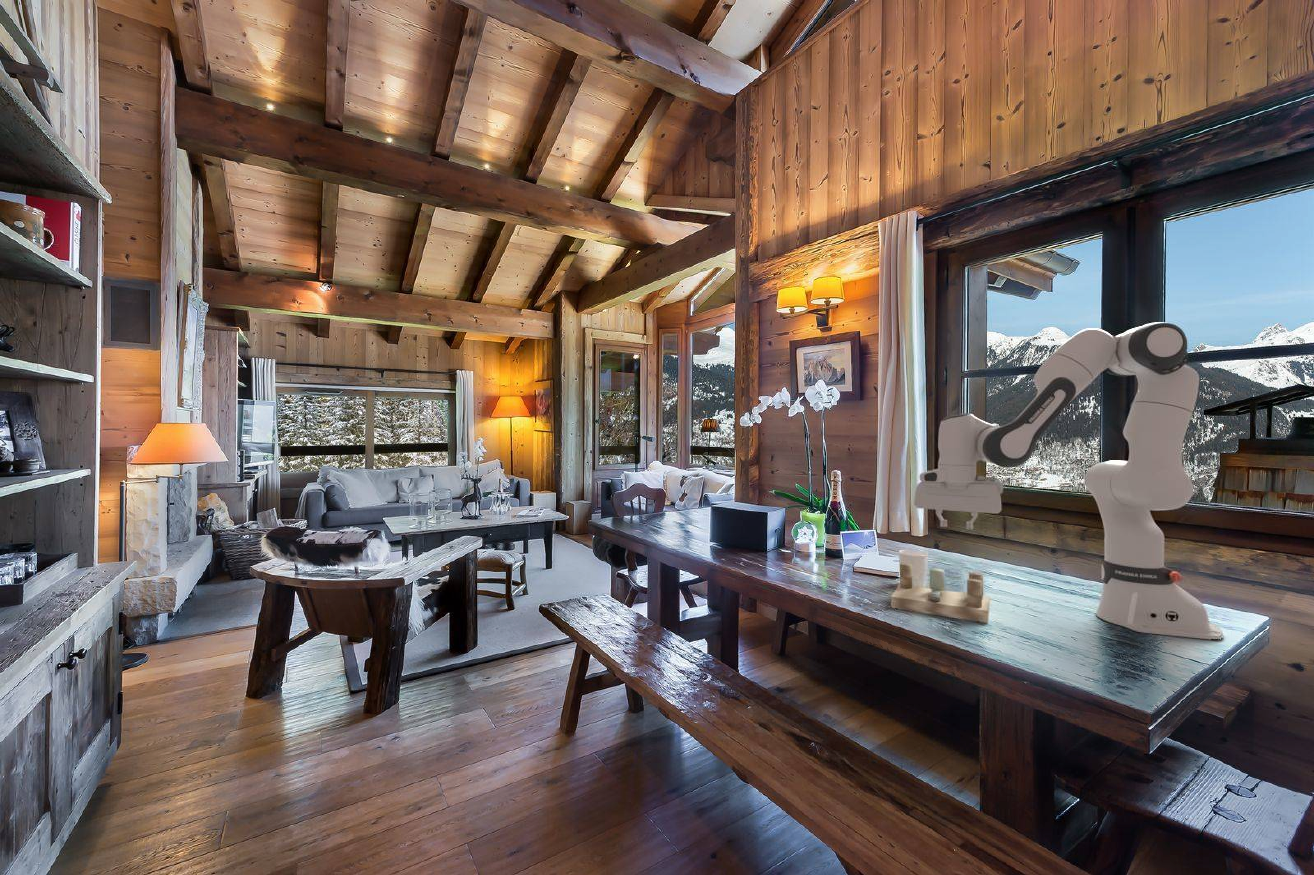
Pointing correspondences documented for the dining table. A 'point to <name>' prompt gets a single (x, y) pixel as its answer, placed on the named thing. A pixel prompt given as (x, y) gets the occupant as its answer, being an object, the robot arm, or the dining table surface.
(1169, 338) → the robot arm
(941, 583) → the folding leg
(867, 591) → the dining table surface
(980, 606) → the wooden base with posts
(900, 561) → the white cup
